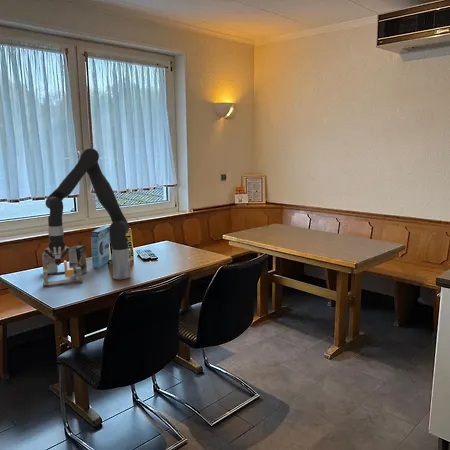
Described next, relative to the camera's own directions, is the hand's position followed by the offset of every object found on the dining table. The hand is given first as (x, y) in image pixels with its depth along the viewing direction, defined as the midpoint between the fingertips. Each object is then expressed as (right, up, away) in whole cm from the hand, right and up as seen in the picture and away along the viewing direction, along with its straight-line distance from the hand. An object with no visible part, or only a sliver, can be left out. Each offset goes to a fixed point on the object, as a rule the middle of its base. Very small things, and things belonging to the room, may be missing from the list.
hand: (58, 264), depth 237 cm
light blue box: (+13, -3, +41) cm, 43 cm away
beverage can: (-13, -7, +22) cm, 26 cm away
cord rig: (+2, -10, +3) cm, 11 cm away
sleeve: (+5, -6, +3) cm, 9 cm away
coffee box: (+4, -7, +22) cm, 23 cm away
